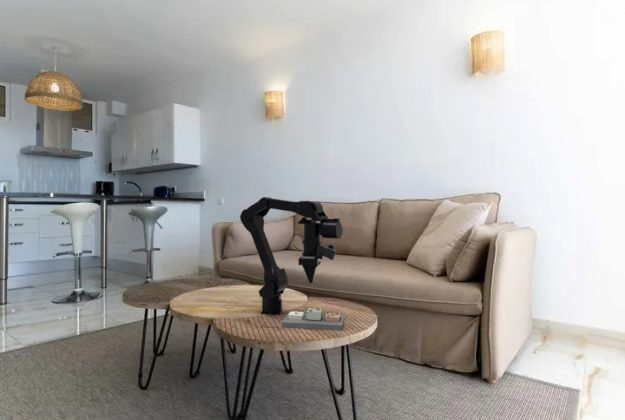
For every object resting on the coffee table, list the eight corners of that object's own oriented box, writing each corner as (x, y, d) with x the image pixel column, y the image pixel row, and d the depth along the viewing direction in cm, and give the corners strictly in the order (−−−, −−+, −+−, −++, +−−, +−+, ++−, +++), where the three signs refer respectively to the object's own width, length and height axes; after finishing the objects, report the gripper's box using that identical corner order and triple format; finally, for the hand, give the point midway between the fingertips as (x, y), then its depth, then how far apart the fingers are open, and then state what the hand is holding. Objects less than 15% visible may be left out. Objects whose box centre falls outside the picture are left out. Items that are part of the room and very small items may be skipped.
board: (282, 326, 125) (282, 322, 125) (289, 316, 137) (289, 312, 137) (342, 330, 123) (342, 325, 123) (344, 319, 135) (344, 315, 135)
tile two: (306, 319, 128) (306, 311, 128) (308, 315, 132) (308, 307, 132) (320, 320, 127) (320, 311, 127) (321, 316, 132) (322, 308, 132)
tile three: (325, 324, 127) (325, 316, 127) (326, 320, 132) (326, 312, 132) (339, 325, 127) (339, 316, 127) (339, 321, 131) (340, 313, 131)
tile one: (288, 322, 129) (288, 314, 129) (290, 318, 133) (290, 310, 133) (301, 323, 128) (302, 315, 128) (304, 319, 133) (304, 311, 133)
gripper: (333, 240, 126) (332, 289, 126) (337, 236, 144) (336, 279, 144) (298, 239, 127) (297, 287, 127) (306, 235, 146) (306, 278, 146)
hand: (311, 282), depth 136 cm, fingers closed
